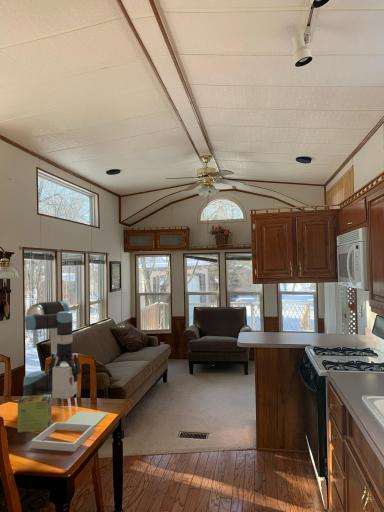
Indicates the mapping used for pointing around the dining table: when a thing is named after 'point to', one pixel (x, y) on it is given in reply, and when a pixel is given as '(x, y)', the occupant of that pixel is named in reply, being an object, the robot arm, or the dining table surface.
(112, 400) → the dining table surface
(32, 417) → the protein box
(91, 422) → the pad
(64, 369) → the supplement box
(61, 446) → the bin
